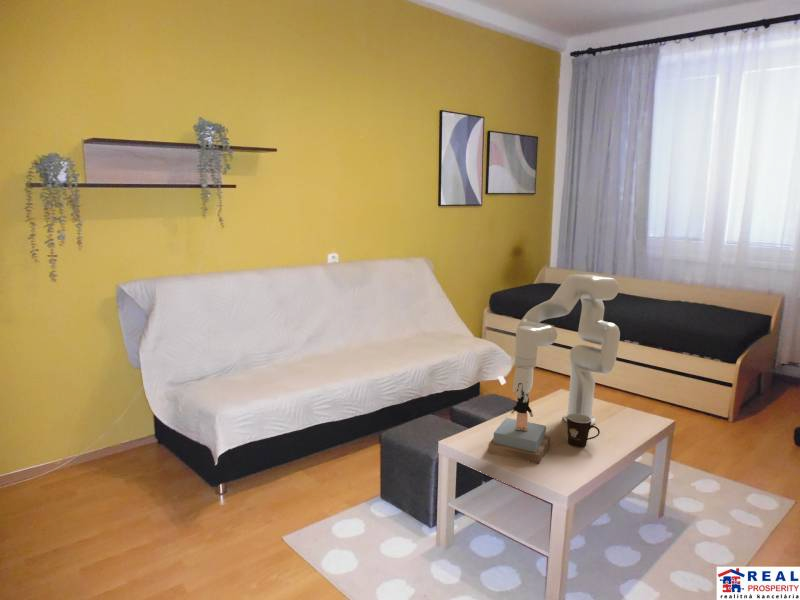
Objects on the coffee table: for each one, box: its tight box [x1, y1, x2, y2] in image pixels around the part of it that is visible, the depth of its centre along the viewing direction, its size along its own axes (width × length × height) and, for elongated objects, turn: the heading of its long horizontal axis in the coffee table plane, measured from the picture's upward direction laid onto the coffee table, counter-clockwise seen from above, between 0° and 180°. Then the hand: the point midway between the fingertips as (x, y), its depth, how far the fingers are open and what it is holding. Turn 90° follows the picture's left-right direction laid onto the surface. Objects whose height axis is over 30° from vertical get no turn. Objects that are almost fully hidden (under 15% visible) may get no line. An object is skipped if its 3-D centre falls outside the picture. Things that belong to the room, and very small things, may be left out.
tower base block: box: [487, 434, 551, 465], centre depth 201 cm, size 18×18×4 cm
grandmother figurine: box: [510, 395, 534, 431], centre depth 198 cm, size 8×4×13 cm, turn 91°
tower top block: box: [493, 417, 547, 452], centre depth 200 cm, size 15×15×4 cm
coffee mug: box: [566, 414, 601, 448], centre depth 203 cm, size 12×9×10 cm
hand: (522, 409), depth 198 cm, fingers open, 3 cm apart
